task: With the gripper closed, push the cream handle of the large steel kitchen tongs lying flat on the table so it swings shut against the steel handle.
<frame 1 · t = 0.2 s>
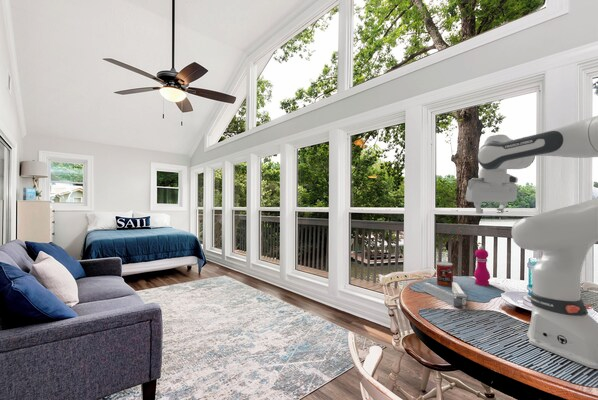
hand: (489, 213, 112), 39 cm above the table, tool pointing down, fingers open, 8 cm apart
tongs fixed handle: (458, 306, 118), on the table
hinged handle: (456, 293, 127), point 3 cm above the table, hinge at -30.0°
canned food: (444, 284, 150), on the table
pepper mill: (482, 284, 150), on the table
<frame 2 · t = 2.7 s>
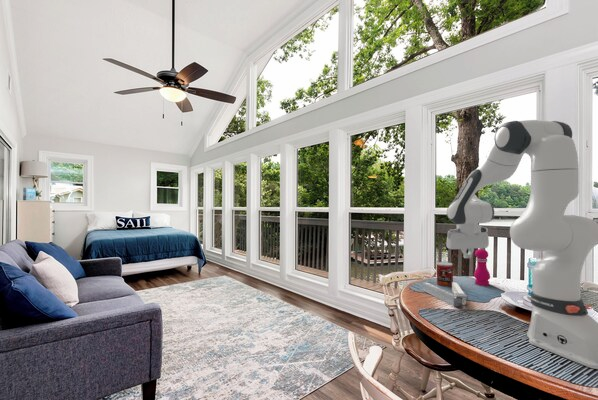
hand: (467, 257, 134), 17 cm above the table, tool pointing down, fingers closed
nothing on the table moved.
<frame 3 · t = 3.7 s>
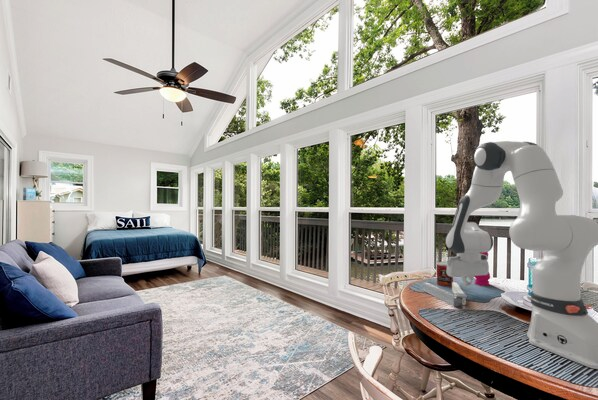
hand: (467, 285, 134), 4 cm above the table, tool pointing down, fingers closed
nothing on the table moved.
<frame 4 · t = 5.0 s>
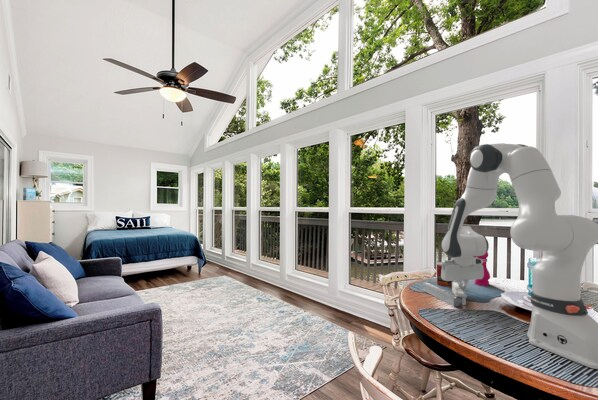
hand: (462, 289, 133), 3 cm above the table, tool pointing down, fingers closed
hinged handle: (456, 293, 127), point 3 cm above the table, hinge at -29.9°, touching gripper
everything else where it was.
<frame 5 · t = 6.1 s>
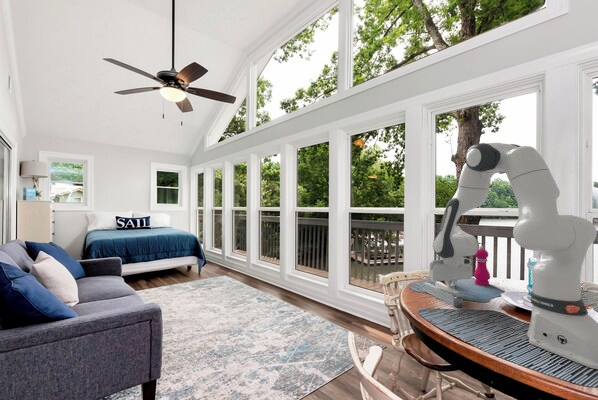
hand: (450, 289, 132), 3 cm above the table, tool pointing down, fingers closed
hinged handle: (447, 292, 128), point 3 cm above the table, hinge at -10.7°, touching gripper
everything else where it was.
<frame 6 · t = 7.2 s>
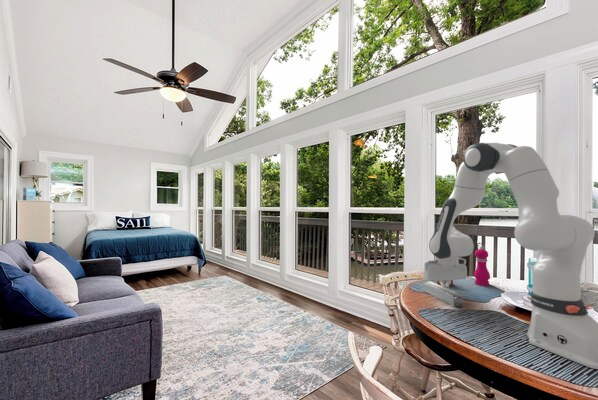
hand: (445, 289, 132), 3 cm above the table, tool pointing down, fingers closed
hinged handle: (443, 292, 128), point 3 cm above the table, hinge at 0.1°, touching gripper
everything else where it was.
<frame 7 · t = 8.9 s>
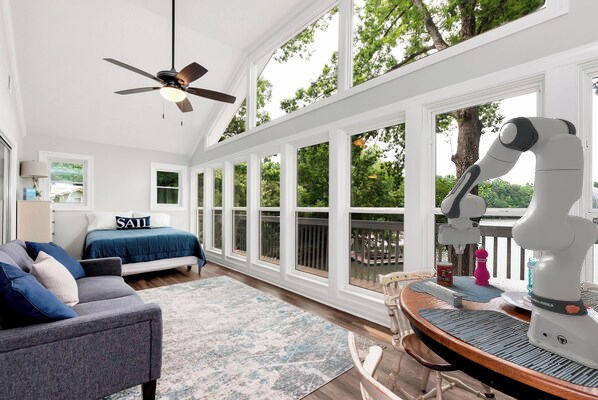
hand: (459, 253, 133), 19 cm above the table, tool pointing down, fingers closed
hinged handle: (443, 292, 128), point 3 cm above the table, hinge at 0.1°
everything else where it was.
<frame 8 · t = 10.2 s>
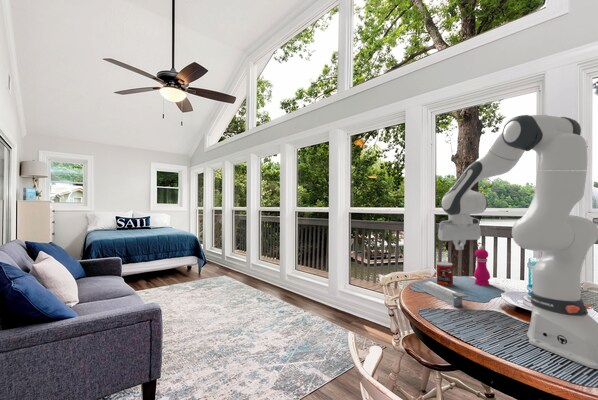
hand: (459, 249, 133), 21 cm above the table, tool pointing down, fingers closed
nothing on the table moved.
at the end: hinged handle at +0° (first picture: -30°); canned food moved 0.2 cm from its start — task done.
